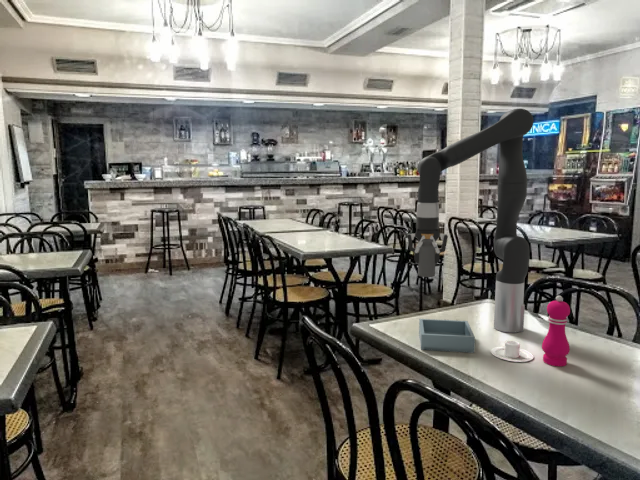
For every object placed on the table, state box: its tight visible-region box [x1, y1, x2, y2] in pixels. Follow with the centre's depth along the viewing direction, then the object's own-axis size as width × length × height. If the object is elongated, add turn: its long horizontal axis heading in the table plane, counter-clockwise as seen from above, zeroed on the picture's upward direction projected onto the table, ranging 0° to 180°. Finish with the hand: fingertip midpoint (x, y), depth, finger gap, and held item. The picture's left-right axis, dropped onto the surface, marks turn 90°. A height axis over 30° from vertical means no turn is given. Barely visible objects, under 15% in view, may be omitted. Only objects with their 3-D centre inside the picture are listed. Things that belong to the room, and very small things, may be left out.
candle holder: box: [490, 339, 534, 363], centre depth 144 cm, size 12×12×4 cm
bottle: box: [417, 234, 436, 278], centre depth 166 cm, size 6×6×15 cm
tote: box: [418, 318, 476, 354], centre depth 155 cm, size 16×16×5 cm
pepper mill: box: [541, 295, 571, 367], centre depth 137 cm, size 7×7×20 cm
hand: (426, 263), depth 167 cm, fingers closed on bottle, 6 cm apart
